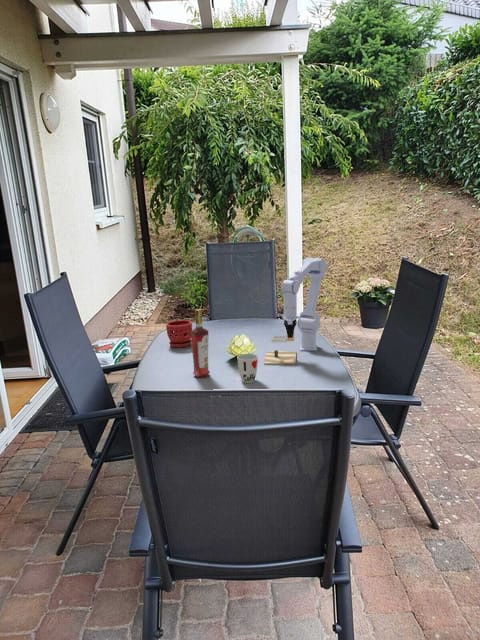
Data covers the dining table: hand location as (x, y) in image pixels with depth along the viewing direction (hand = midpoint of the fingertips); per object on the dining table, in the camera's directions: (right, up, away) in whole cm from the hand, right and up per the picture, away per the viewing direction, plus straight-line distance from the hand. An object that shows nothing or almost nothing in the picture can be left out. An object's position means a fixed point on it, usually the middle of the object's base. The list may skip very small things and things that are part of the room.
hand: (290, 336), depth 214 cm
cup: (-19, -17, -24) cm, 35 cm away
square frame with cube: (-3, -2, +1) cm, 4 cm away
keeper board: (-4, -10, +3) cm, 11 cm away
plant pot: (-53, -6, +30) cm, 61 cm away
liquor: (-39, -16, -16) cm, 45 cm away
